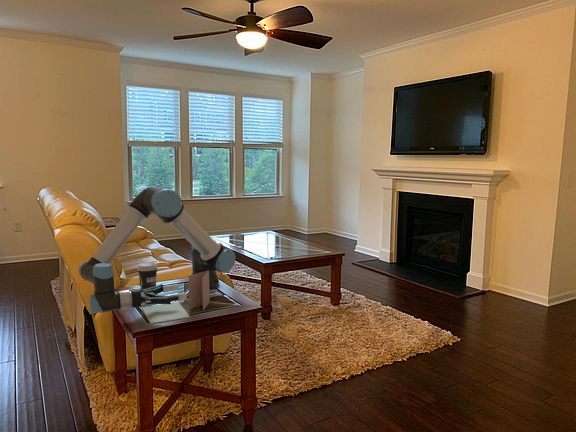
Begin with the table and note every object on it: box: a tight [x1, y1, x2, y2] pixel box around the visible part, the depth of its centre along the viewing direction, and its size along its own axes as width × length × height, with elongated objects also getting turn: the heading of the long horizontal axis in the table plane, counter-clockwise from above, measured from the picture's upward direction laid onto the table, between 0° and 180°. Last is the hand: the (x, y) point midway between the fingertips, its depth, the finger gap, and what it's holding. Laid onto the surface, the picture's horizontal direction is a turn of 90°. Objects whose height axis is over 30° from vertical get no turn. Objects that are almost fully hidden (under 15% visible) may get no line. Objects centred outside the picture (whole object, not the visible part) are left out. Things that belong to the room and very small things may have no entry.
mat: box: [141, 301, 191, 325], centre depth 191 cm, size 20×16×1 cm
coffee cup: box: [136, 261, 159, 290], centre depth 214 cm, size 10×10×15 cm
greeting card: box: [188, 270, 211, 311], centre depth 197 cm, size 11×7×15 cm, turn 141°
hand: (182, 291), depth 193 cm, fingers open, 13 cm apart
